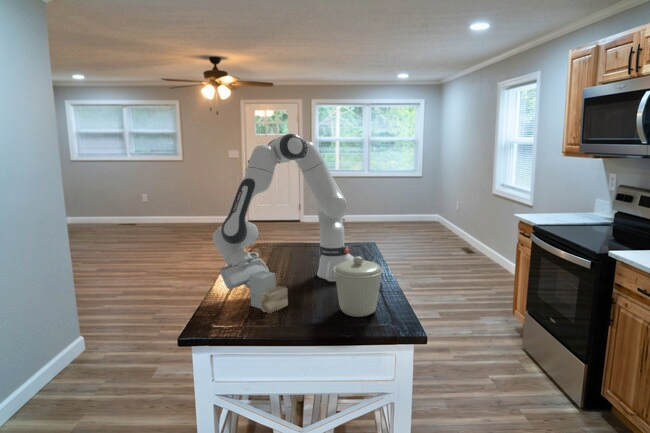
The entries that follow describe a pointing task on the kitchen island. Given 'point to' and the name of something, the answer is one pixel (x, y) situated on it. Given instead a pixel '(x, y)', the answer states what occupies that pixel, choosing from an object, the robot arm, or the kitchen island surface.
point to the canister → (358, 286)
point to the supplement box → (260, 286)
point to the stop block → (274, 299)
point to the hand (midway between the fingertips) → (256, 290)
